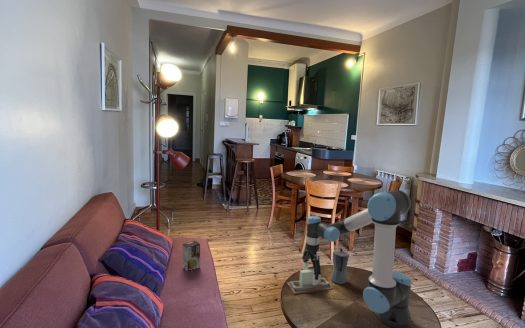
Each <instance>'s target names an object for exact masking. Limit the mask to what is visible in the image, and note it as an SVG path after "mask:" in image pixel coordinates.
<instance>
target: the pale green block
mask: <svg viewBox="0 0 525 328" xmlns="http://www.w3.org/2000/svg"><path fill="white" fill-rule="evenodd" d="M313 275H314V269H313V268H308V270H303V269H302V270H301V269H300V270H299V279H298V281H299V285H300V287H301V286H309V285H313ZM321 278H322V274H321V275H319V276H318V284H320V282H321Z"/></svg>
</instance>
